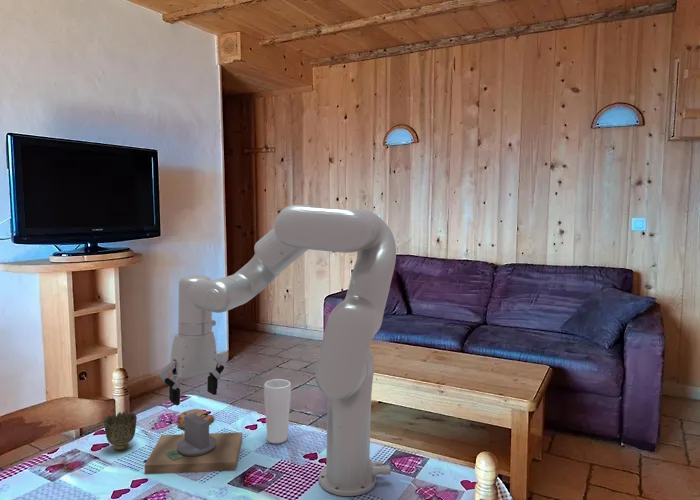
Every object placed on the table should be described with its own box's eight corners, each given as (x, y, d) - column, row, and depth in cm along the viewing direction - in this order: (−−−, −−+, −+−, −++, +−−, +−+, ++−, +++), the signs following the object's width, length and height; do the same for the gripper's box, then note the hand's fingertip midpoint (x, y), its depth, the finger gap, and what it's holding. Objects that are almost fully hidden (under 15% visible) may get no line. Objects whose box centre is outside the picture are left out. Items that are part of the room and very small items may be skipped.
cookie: (199, 412, 148) (199, 402, 148) (221, 423, 141) (220, 413, 141) (167, 423, 141) (167, 413, 140) (189, 435, 134) (188, 424, 134)
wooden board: (241, 439, 131) (242, 431, 131) (235, 470, 116) (235, 461, 116) (161, 442, 129) (161, 434, 129) (144, 473, 114) (144, 464, 114)
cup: (137, 453, 123) (136, 421, 123) (103, 458, 121) (102, 425, 120) (137, 439, 130) (137, 409, 130) (105, 444, 128) (104, 413, 127)
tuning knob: (223, 447, 123) (223, 419, 122) (189, 460, 116) (188, 430, 116) (199, 432, 130) (199, 405, 130) (165, 444, 124) (165, 416, 123)
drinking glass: (277, 448, 127) (277, 390, 126) (258, 440, 131) (258, 383, 130) (295, 438, 132) (296, 382, 131) (277, 431, 137) (277, 377, 135)
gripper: (218, 319, 129) (217, 385, 130) (152, 330, 116) (151, 402, 118) (235, 325, 124) (233, 393, 125) (168, 337, 111) (167, 413, 113)
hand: (194, 398), depth 122 cm, fingers open, 9 cm apart
